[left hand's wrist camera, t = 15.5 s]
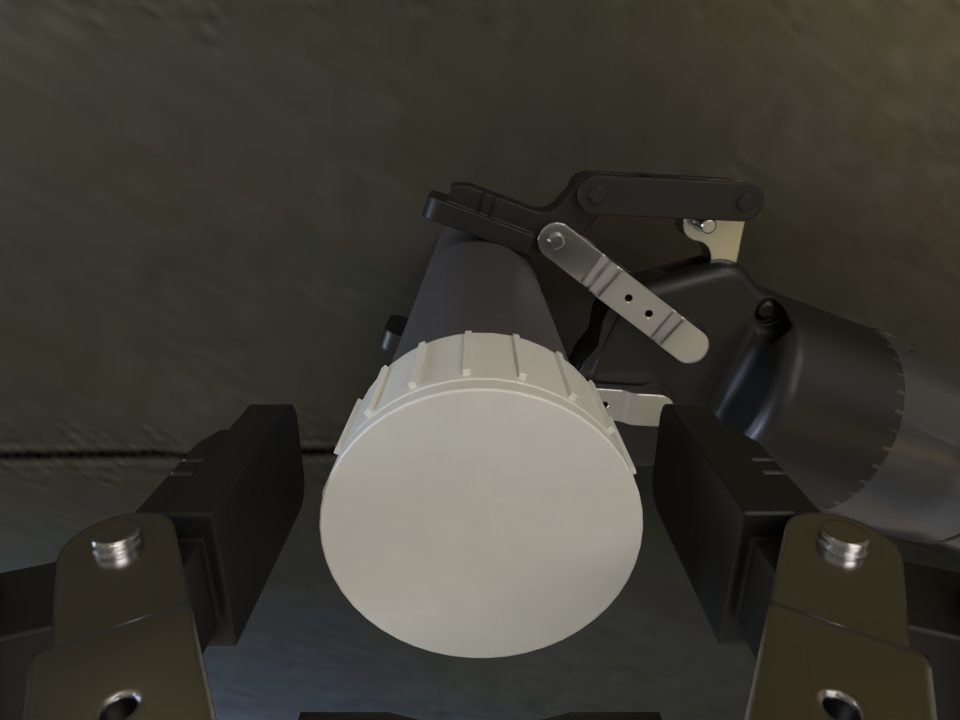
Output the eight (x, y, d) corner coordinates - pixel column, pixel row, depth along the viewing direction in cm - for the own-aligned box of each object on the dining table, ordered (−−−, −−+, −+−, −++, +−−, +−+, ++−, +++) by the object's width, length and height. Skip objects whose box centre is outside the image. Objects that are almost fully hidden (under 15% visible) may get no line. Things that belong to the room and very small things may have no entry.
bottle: (423, 287, 28) (319, 584, 10) (449, 199, 27) (382, 354, 8) (508, 313, 29) (561, 644, 10) (538, 228, 27) (660, 435, 9)
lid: (593, 570, 12) (619, 671, 10) (347, 554, 12) (316, 654, 10) (635, 339, 10) (678, 398, 8) (347, 318, 10) (309, 372, 8)
